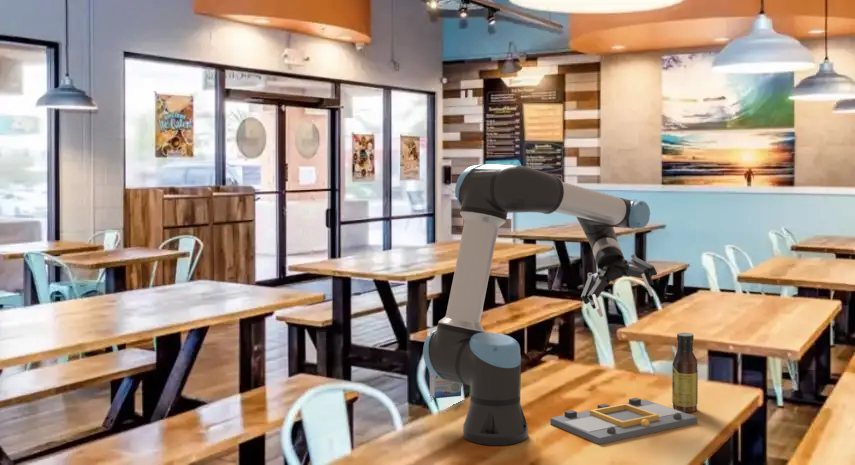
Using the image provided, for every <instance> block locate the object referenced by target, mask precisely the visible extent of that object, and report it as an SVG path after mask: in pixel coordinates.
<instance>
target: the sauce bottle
mask: <svg viewBox="0 0 855 465" xmlns="http://www.w3.org/2000/svg"><path fill="white" fill-rule="evenodd" d="M676 340H677V350H676V354H675V356H674V359H673V361H672V364H671V365H672V366H671V368H672V369H671V370H672V371H671V372H672V374H671V376H672V377H671V378H672V379H671V393H672V394H671V395H672V396H671V399H672V401H671V402H672V407H673V408H672V409H675V410H678V411H681V412H684V413H687V414H689V413H692V412H696V411H697V410H698V399H699V398H698V397H699V396H698V394H699V392H698V390H699V388H698V386H699V385H698V384H699V382H698V380H699V378H698V377H699V376H698V375H699V374H698V372H699V370H698V359H697V357H696V356H695V353H694V352H693V351H694V347H693V346H694V344H693V343H694V333H692V332H691V333H690V332H678V333H677V334H676Z"/></svg>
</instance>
